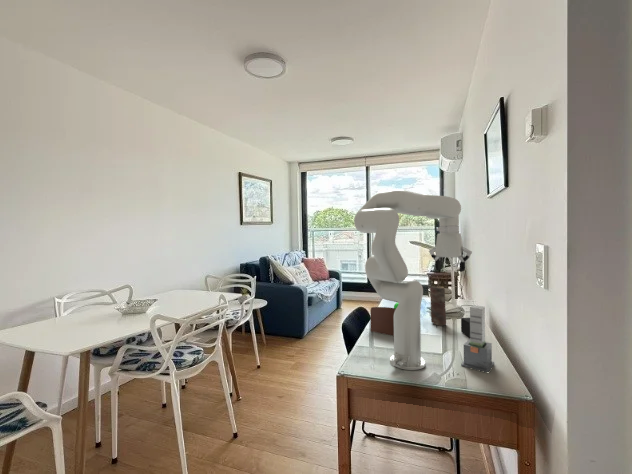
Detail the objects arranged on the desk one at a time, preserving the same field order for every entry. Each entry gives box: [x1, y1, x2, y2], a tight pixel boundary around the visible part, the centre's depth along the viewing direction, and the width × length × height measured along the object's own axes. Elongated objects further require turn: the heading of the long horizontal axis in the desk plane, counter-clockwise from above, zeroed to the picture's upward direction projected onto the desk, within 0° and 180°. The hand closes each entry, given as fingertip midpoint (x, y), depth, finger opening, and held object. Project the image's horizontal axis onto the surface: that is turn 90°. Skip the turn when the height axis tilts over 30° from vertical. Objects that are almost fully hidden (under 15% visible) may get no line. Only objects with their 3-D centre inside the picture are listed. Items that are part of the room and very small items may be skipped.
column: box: [469, 304, 487, 348], centre depth 116 cm, size 4×4×14 cm
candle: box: [429, 286, 447, 327], centre depth 166 cm, size 8×7×20 cm
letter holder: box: [369, 306, 396, 337], centre depth 152 cm, size 10×20×14 cm, turn 58°
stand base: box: [460, 338, 495, 373], centre depth 116 cm, size 9×9×8 cm
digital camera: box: [460, 317, 470, 338], centre depth 149 cm, size 10×5×7 cm, turn 0°
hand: (450, 270), depth 134 cm, fingers open, 9 cm apart
